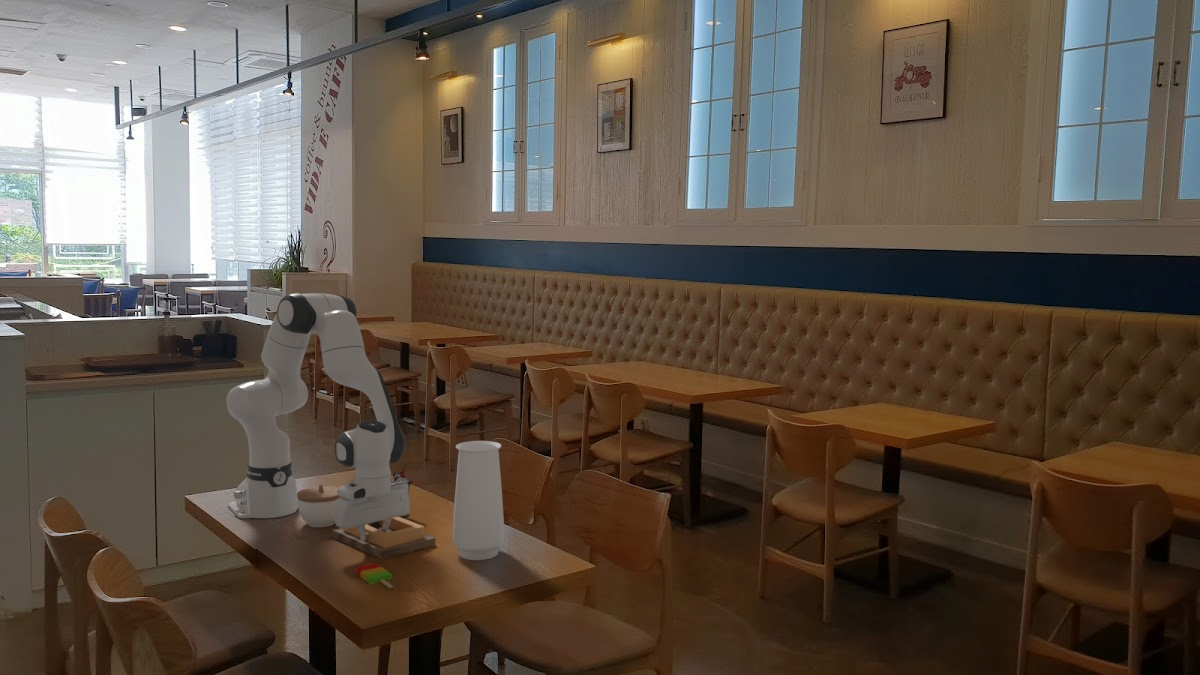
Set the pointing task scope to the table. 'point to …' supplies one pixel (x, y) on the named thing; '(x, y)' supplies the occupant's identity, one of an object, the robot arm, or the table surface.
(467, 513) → the vase
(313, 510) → the lidded bowl
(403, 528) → the link
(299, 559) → the table surface
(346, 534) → the stand
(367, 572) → the popsicle
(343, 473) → the table surface
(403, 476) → the sundae
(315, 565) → the table surface
